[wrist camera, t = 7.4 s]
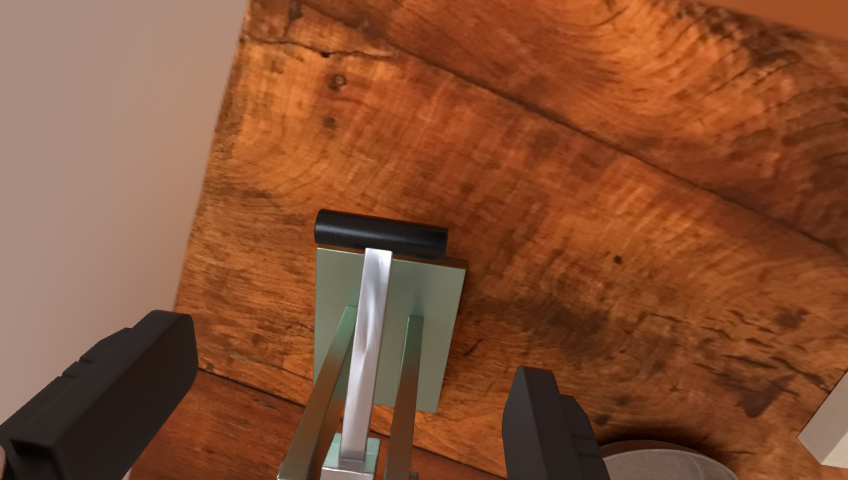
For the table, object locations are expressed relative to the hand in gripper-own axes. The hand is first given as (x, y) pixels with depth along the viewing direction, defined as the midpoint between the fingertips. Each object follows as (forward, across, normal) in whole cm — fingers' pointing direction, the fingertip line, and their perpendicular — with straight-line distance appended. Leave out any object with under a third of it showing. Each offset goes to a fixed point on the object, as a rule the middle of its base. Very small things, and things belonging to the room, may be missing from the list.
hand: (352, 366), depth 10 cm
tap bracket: (+15, 0, +10) cm, 18 cm away
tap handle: (+7, 0, +6) cm, 9 cm away
